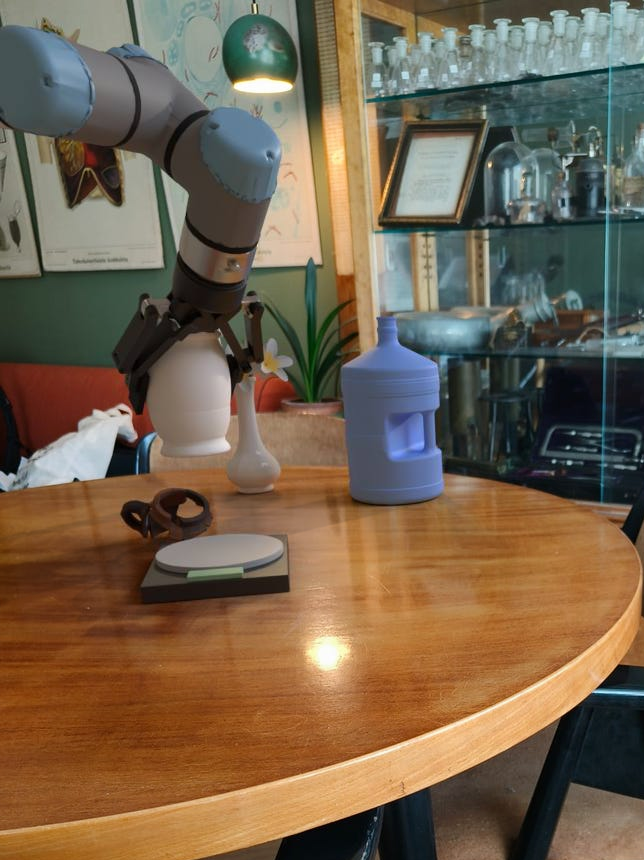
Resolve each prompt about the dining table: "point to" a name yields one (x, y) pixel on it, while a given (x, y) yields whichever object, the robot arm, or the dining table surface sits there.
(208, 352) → the jar
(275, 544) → the scale
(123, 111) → the robot arm
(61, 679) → the dining table surface
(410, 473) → the water jug
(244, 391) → the flower vase
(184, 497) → the pottery mug
